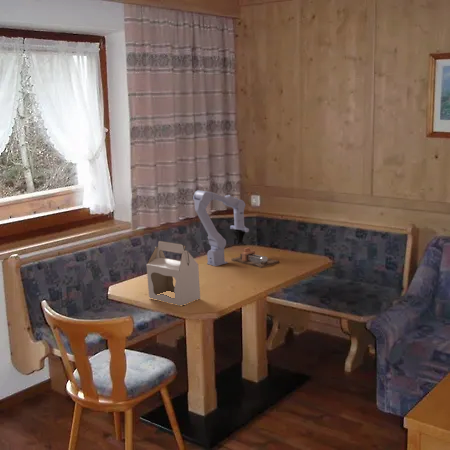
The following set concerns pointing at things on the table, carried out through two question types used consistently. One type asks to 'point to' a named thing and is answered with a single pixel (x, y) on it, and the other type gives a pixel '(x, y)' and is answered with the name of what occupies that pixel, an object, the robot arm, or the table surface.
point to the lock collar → (246, 252)
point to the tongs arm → (255, 255)
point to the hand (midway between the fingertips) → (240, 242)
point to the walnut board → (269, 262)
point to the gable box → (173, 275)
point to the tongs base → (256, 259)
